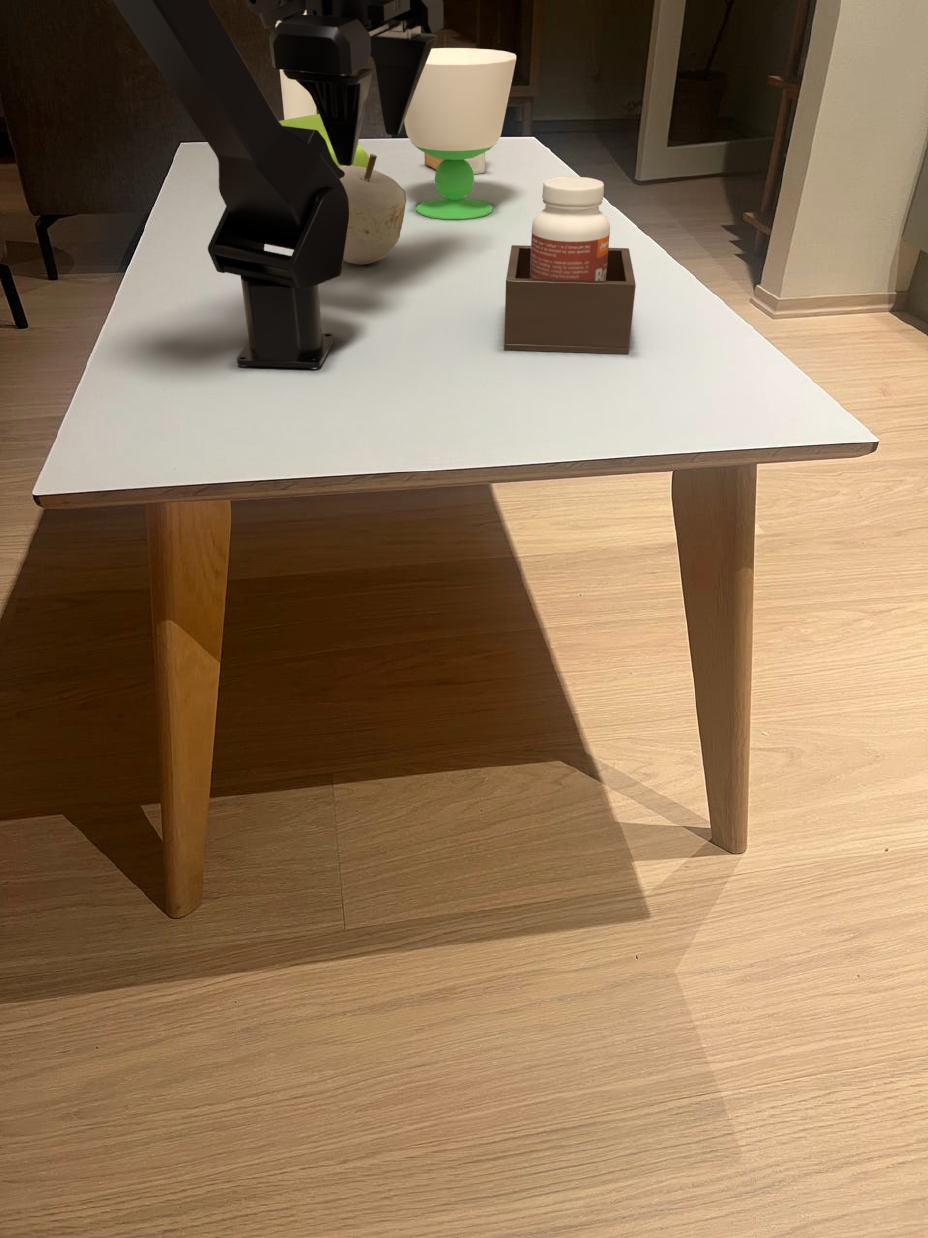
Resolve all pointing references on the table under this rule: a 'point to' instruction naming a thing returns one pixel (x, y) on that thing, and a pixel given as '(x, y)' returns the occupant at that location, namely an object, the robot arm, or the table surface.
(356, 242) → the decorative object
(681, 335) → the table surface
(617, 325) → the brown rectangular open box
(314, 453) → the table surface
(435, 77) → the cup
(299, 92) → the candle
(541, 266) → the pill bottle
